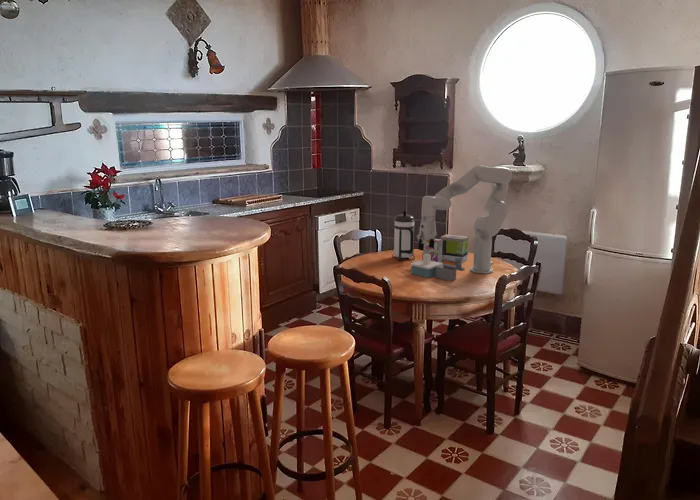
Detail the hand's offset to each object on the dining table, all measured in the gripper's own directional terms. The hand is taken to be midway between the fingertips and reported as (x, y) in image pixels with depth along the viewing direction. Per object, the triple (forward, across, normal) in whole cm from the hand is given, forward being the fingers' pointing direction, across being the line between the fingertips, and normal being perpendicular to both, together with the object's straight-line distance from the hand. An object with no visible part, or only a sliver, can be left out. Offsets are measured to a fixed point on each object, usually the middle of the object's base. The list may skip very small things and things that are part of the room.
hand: (426, 248), depth 305 cm
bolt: (+8, +1, -18) cm, 20 cm away
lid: (+9, +1, 0) cm, 9 cm away
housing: (+14, +1, -7) cm, 16 cm away
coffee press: (+15, +19, +29) cm, 38 cm away
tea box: (+14, +38, +6) cm, 41 cm away
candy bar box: (+14, +17, +7) cm, 23 cm away
